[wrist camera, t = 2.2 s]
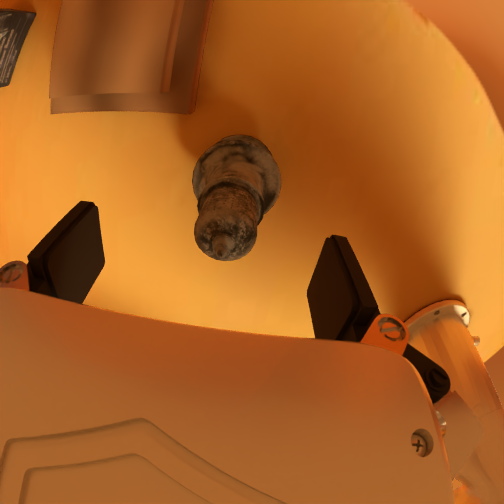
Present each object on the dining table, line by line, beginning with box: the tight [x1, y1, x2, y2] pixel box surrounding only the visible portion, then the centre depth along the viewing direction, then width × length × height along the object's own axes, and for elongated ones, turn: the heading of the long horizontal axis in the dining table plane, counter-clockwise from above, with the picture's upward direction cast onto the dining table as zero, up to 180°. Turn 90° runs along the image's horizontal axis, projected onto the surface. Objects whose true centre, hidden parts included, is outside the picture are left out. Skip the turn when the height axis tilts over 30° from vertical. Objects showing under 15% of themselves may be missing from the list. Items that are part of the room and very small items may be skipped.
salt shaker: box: [192, 135, 281, 261], centre depth 16 cm, size 6×6×12 cm
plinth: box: [49, 0, 213, 114], centre depth 14 cm, size 12×12×4 cm
